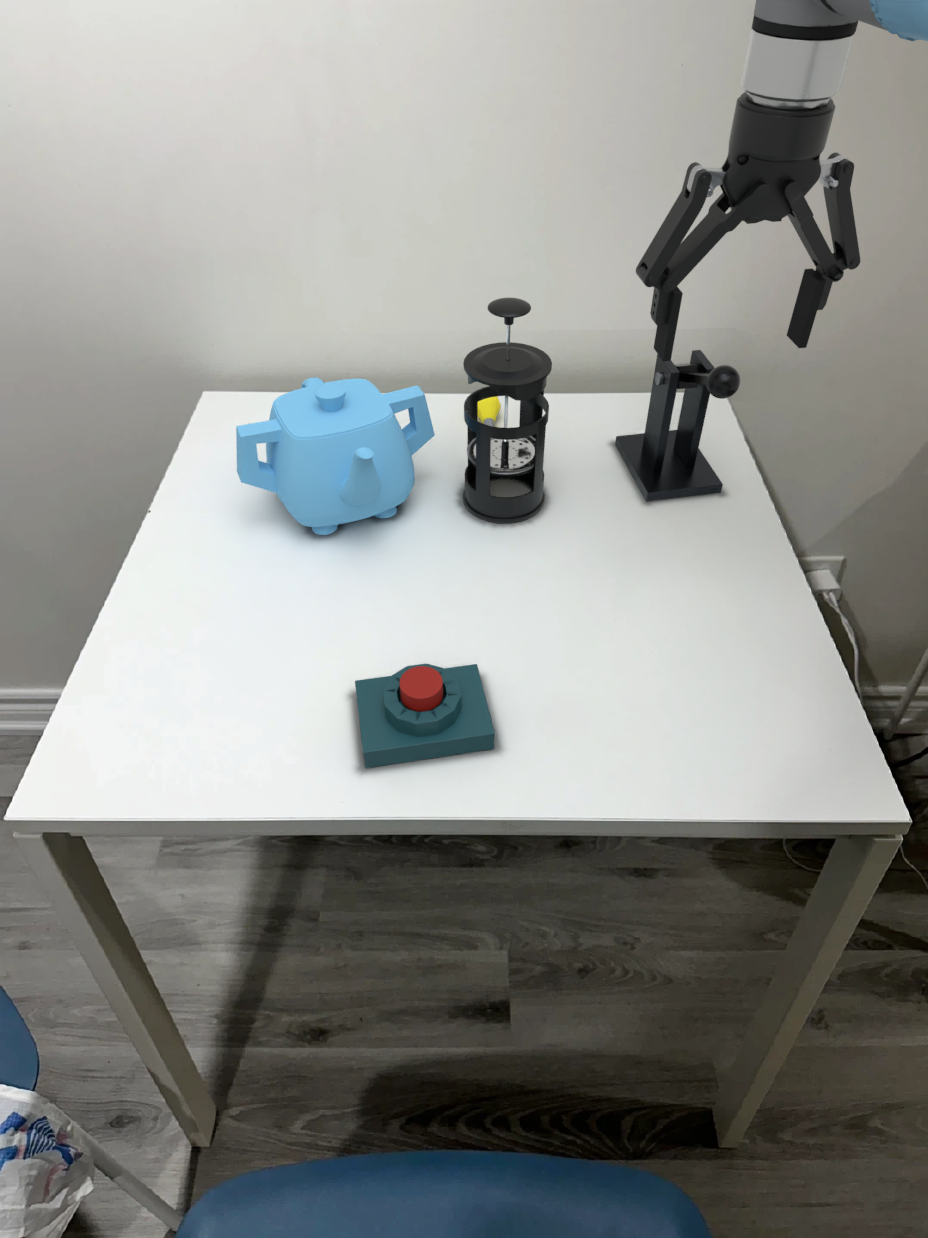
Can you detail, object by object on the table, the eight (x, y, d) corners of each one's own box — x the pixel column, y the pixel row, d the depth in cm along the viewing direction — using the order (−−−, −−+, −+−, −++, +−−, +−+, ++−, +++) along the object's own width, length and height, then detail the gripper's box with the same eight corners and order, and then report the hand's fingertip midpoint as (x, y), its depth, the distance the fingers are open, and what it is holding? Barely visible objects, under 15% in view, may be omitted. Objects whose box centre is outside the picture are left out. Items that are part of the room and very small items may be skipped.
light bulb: (493, 407, 112) (502, 388, 109) (497, 442, 109) (507, 423, 106) (468, 402, 111) (478, 383, 108) (472, 437, 108) (481, 419, 105)
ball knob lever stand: (721, 492, 98) (748, 384, 88) (646, 501, 97) (665, 393, 87) (684, 436, 106) (704, 332, 97) (614, 444, 105) (628, 339, 96)
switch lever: (745, 398, 83) (746, 364, 82) (714, 401, 83) (715, 367, 82) (691, 388, 95) (692, 359, 94) (664, 391, 95) (664, 361, 94)
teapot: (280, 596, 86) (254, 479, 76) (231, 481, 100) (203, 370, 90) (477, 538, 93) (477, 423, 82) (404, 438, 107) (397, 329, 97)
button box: (494, 749, 72) (495, 719, 70) (365, 768, 71) (360, 739, 68) (476, 679, 78) (477, 649, 75) (357, 696, 77) (352, 666, 74)
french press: (513, 537, 93) (521, 337, 76) (443, 508, 96) (436, 312, 80) (567, 484, 99) (584, 291, 83) (499, 459, 103) (504, 270, 87)
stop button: (446, 708, 71) (445, 695, 70) (403, 714, 70) (402, 701, 69) (439, 676, 73) (439, 663, 72) (398, 682, 73) (397, 668, 72)
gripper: (908, 74, 71) (832, 319, 86) (619, 91, 68) (593, 341, 83) (961, 99, 65) (870, 354, 80) (650, 118, 62) (616, 379, 77)
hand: (729, 348), depth 82 cm, fingers open, 13 cm apart
